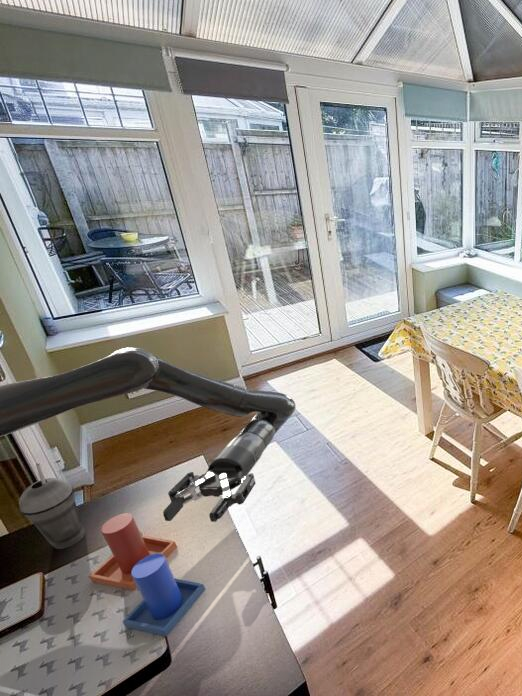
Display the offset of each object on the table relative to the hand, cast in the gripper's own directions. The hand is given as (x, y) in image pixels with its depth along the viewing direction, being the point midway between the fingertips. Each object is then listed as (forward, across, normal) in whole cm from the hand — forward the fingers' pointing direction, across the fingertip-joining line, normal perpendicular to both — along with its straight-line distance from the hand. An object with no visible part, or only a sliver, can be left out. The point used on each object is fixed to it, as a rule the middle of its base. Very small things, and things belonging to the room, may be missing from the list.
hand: (189, 518), depth 78 cm
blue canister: (+10, 0, +10) cm, 14 cm away
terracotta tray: (+2, -12, +11) cm, 16 cm away
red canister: (+2, -12, +10) cm, 16 cm away
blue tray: (+10, 0, +11) cm, 15 cm away
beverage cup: (-3, -29, +11) cm, 31 cm away
